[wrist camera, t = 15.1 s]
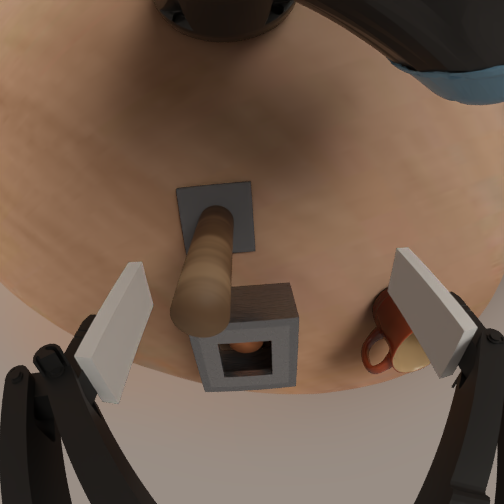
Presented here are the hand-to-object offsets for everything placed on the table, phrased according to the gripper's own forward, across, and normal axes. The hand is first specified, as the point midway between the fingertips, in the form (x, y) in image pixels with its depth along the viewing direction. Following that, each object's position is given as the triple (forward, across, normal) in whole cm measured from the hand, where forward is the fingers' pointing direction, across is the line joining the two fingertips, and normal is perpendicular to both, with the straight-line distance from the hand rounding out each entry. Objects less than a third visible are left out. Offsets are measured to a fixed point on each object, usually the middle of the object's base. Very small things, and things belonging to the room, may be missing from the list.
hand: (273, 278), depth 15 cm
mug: (+19, +18, -18) cm, 32 cm away
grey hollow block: (+18, -2, -19) cm, 26 cm away
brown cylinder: (+18, -5, -4) cm, 19 cm away
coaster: (+18, -5, -4) cm, 19 cm away
